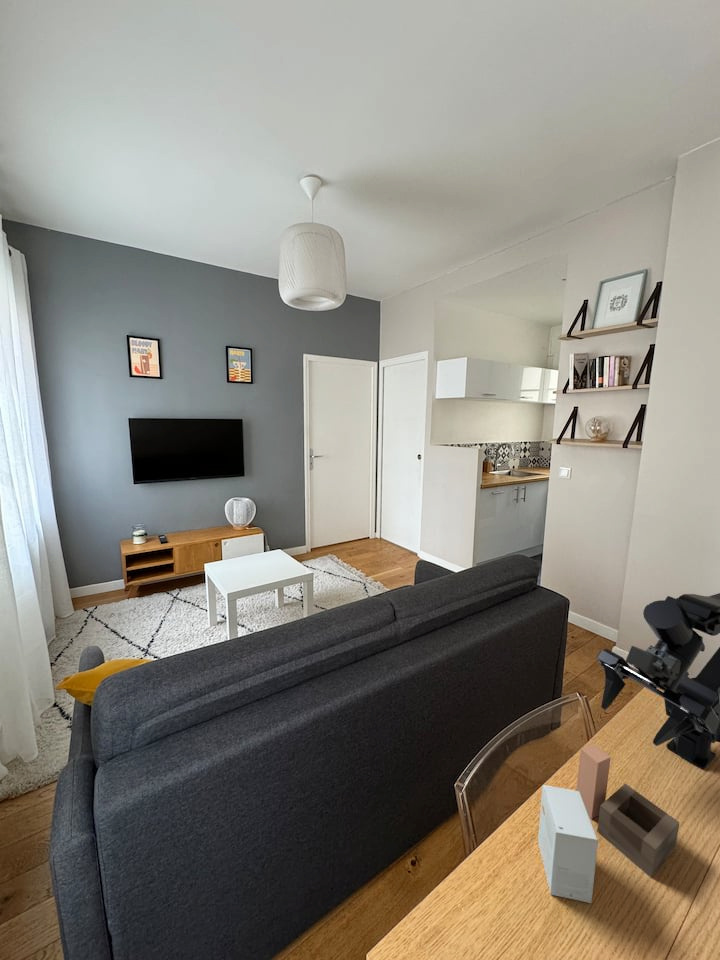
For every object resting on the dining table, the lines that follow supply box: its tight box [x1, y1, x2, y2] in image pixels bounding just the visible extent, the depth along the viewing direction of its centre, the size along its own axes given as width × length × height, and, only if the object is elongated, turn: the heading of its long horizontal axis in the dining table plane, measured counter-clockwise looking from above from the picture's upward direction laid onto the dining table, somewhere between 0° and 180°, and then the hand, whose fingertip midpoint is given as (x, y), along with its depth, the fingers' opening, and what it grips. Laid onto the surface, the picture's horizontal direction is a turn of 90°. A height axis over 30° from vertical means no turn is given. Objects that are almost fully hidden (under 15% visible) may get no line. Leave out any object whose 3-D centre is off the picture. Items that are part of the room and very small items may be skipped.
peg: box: [575, 742, 611, 821], centre depth 70 cm, size 3×3×11 cm
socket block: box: [596, 783, 680, 878], centre depth 66 cm, size 8×8×5 cm
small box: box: [537, 784, 599, 904], centre depth 61 cm, size 8×6×10 cm
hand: (627, 725), depth 72 cm, fingers open, 9 cm apart
